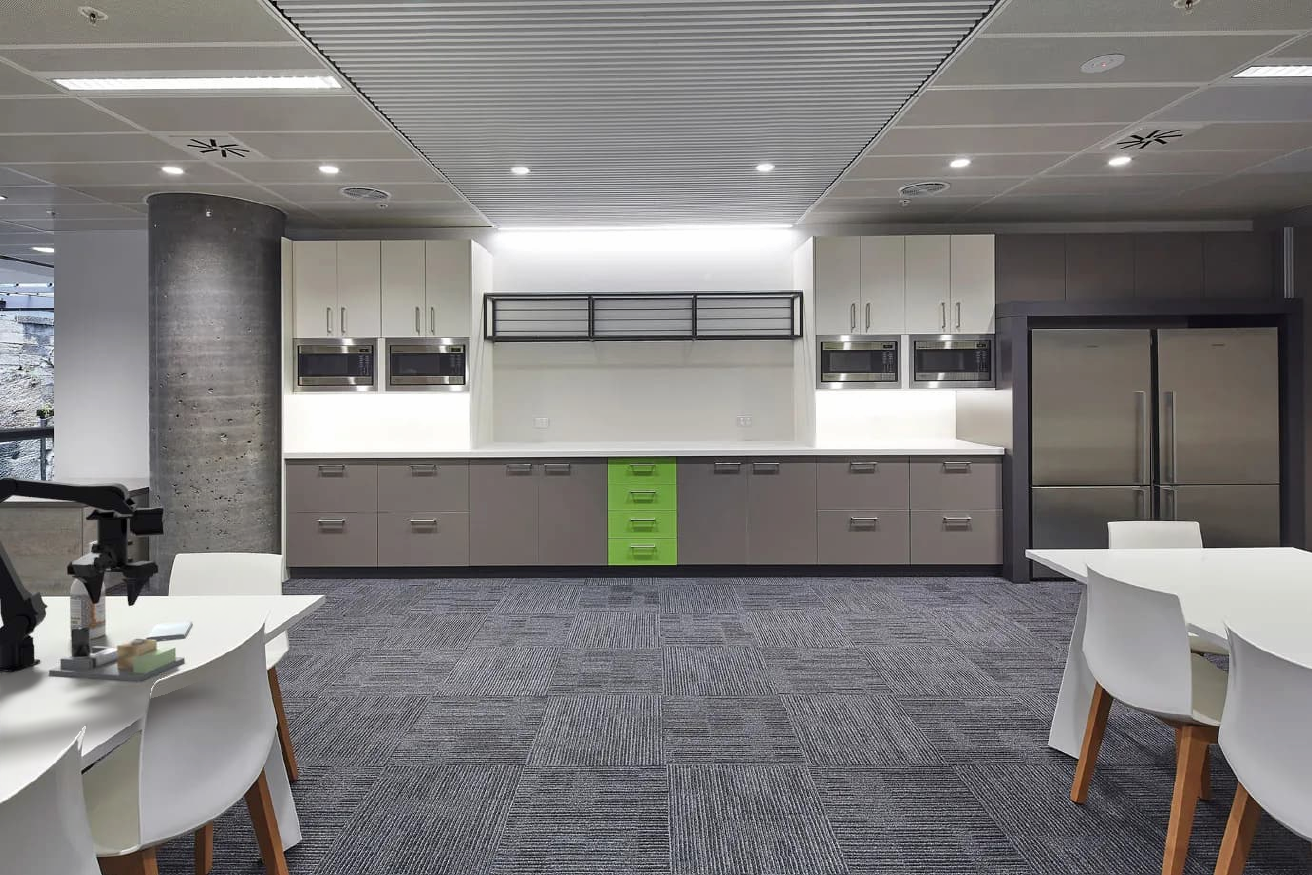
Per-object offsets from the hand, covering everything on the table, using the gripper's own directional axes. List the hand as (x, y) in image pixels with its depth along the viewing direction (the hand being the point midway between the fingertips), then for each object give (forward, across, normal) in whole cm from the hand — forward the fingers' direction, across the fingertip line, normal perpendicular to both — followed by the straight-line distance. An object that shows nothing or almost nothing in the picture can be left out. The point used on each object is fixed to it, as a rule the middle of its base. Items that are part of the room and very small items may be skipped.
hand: (113, 604), depth 168 cm
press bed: (+12, +8, -7) cm, 16 cm away
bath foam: (+12, -18, +11) cm, 24 cm away
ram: (+11, +1, -7) cm, 13 cm away
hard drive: (+13, -1, +18) cm, 22 cm away
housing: (+11, +13, -7) cm, 18 cm away
